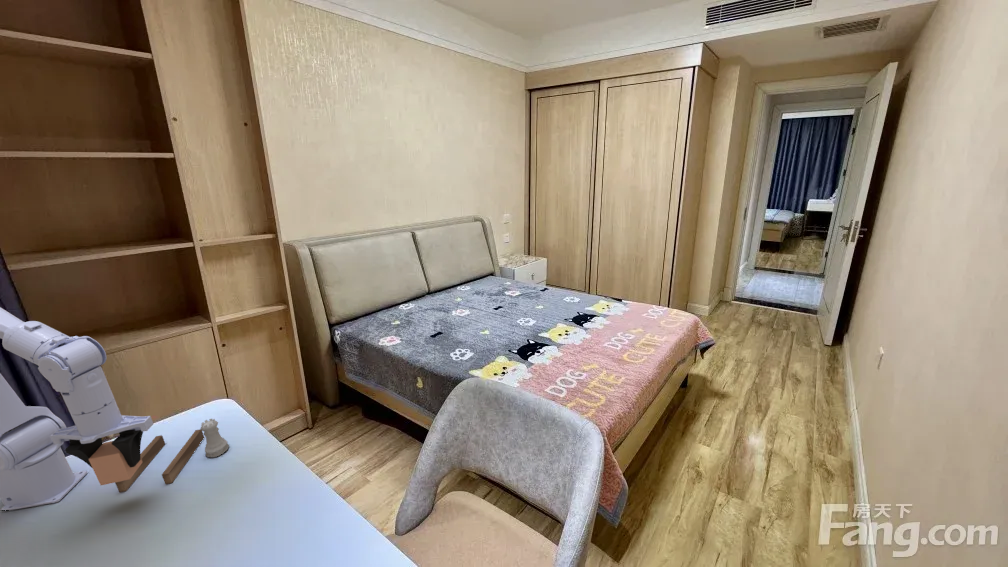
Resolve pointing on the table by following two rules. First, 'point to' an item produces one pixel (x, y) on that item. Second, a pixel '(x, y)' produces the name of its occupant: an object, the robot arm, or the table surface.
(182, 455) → the walnut channel
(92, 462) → the terracotta block
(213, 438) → the rook chess piece
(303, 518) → the table surface
